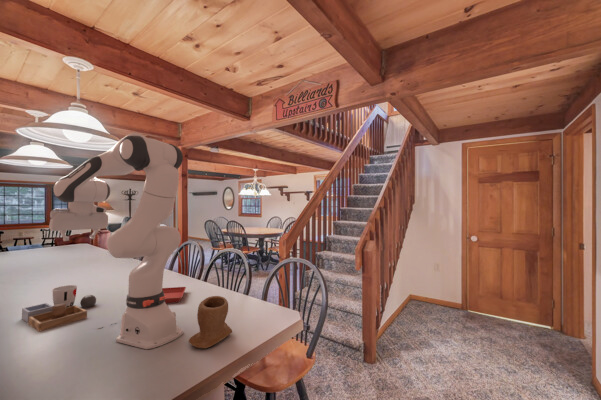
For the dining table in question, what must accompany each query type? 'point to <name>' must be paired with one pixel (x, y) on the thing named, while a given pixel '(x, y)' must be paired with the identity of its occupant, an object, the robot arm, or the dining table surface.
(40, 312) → the pen pot
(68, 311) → the oak tray
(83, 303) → the dark gray ball
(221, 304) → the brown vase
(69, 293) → the cup
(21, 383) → the dining table surface
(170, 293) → the plant saucer
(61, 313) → the walnut peg
